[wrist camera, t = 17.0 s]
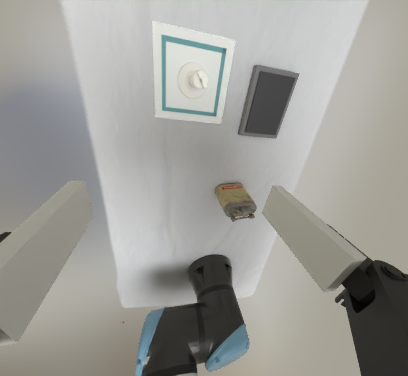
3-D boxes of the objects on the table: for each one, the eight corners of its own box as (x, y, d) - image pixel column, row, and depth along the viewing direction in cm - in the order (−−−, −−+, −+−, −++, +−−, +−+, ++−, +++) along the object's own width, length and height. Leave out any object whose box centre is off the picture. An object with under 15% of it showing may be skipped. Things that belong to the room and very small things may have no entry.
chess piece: (198, 55, 24) (214, 38, 16) (212, 89, 27) (232, 90, 18) (170, 73, 24) (172, 66, 16) (187, 104, 27) (195, 112, 19)
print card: (220, 123, 30) (221, 124, 30) (155, 116, 28) (154, 117, 27) (235, 40, 24) (235, 39, 24) (152, 21, 21) (151, 20, 21)
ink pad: (272, 136, 34) (277, 139, 32) (238, 133, 32) (241, 135, 31) (294, 74, 28) (301, 73, 27) (254, 65, 26) (258, 64, 25)
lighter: (243, 182, 39) (263, 208, 31) (241, 194, 41) (259, 222, 33) (215, 184, 38) (228, 212, 29) (214, 197, 40) (226, 226, 31)
